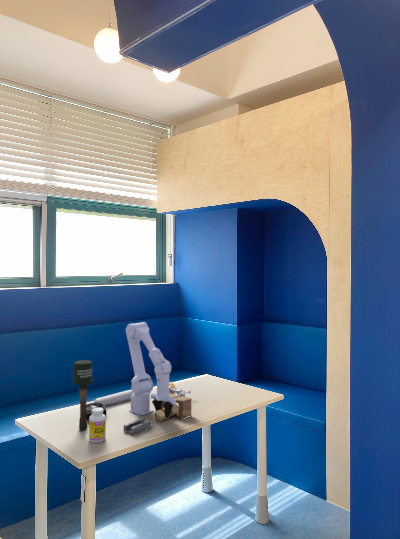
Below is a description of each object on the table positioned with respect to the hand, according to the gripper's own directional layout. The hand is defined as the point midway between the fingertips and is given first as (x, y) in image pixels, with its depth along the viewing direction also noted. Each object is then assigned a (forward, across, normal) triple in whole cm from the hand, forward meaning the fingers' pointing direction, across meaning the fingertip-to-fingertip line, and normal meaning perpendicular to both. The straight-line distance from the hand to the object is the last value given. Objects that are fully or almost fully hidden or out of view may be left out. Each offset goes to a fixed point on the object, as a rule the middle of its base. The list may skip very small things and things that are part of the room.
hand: (163, 416), depth 198 cm
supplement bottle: (+2, -5, -34) cm, 35 cm away
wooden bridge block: (+1, 0, +9) cm, 9 cm away
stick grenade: (+2, -19, -31) cm, 37 cm away
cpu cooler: (+2, -28, -18) cm, 34 cm away
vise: (+2, -18, +27) cm, 33 cm away
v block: (+1, 0, -16) cm, 16 cm away
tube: (+2, -36, +1) cm, 36 cm away
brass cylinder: (+1, 0, +3) cm, 3 cm away
